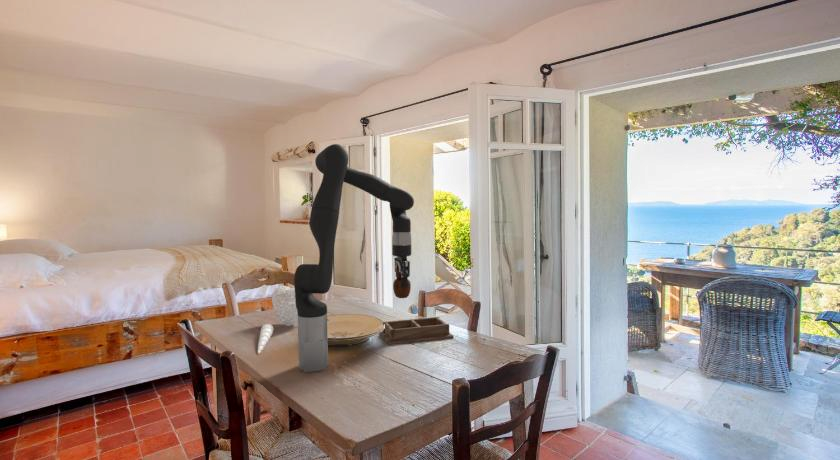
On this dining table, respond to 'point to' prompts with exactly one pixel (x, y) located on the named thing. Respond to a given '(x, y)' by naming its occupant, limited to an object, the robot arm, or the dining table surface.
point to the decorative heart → (285, 305)
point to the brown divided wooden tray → (415, 330)
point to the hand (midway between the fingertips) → (401, 285)
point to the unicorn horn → (264, 336)
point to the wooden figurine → (400, 286)
